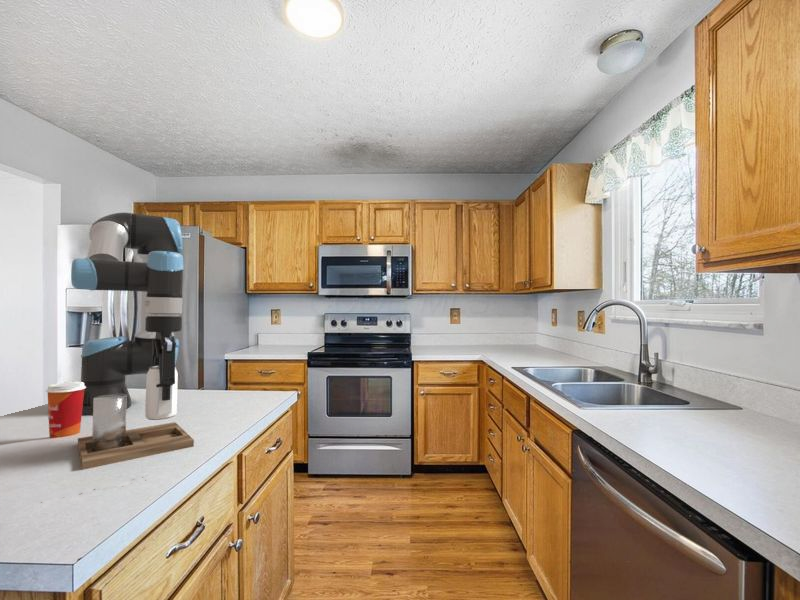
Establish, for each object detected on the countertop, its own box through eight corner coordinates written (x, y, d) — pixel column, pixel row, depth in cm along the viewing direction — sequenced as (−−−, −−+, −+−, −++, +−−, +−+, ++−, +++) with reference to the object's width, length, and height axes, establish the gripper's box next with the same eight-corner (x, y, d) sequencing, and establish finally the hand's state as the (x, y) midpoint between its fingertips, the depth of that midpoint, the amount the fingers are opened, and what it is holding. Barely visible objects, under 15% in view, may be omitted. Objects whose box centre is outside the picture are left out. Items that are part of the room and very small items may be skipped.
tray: (77, 451, 89) (77, 438, 89) (175, 433, 103) (175, 422, 103) (82, 477, 76) (82, 461, 76) (193, 452, 89) (193, 439, 89)
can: (138, 420, 90) (140, 368, 90) (156, 412, 96) (158, 364, 96) (166, 420, 89) (167, 369, 90) (182, 413, 96) (183, 365, 96)
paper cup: (45, 438, 97) (47, 383, 98) (84, 432, 102) (86, 380, 102) (42, 447, 91) (44, 388, 92) (84, 440, 96) (86, 384, 96)
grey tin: (90, 450, 86) (92, 396, 86) (123, 444, 90) (124, 392, 90) (92, 458, 82) (94, 401, 82) (127, 451, 86) (128, 397, 86)
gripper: (139, 314, 98) (136, 405, 97) (154, 316, 84) (150, 422, 83) (172, 314, 103) (170, 400, 102) (191, 316, 89) (189, 416, 88)
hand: (161, 410), depth 93 cm, fingers closed on can, 6 cm apart
